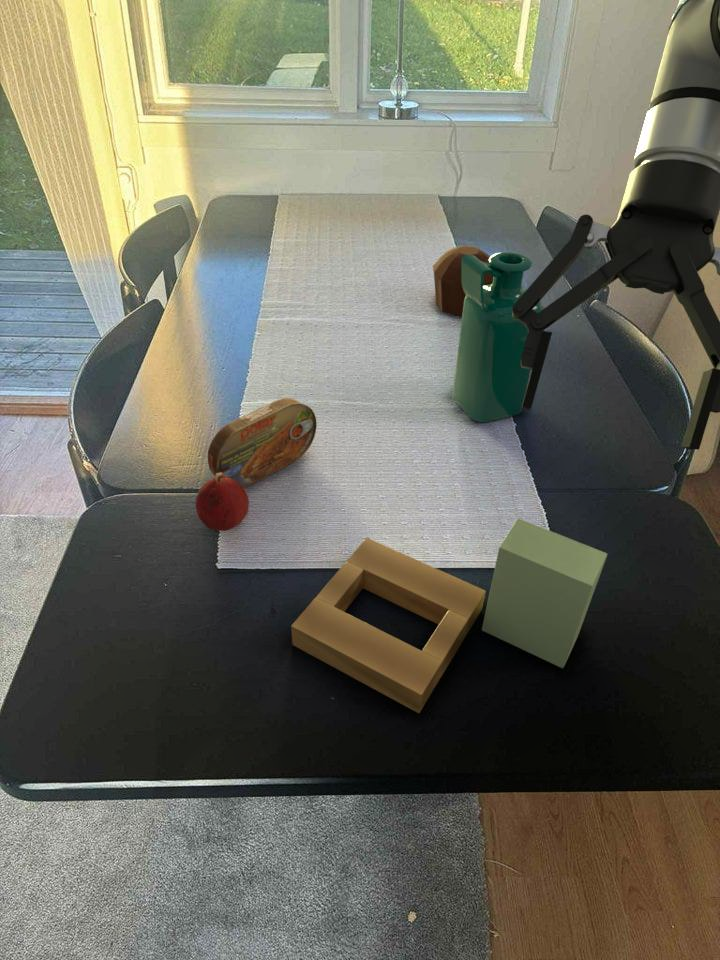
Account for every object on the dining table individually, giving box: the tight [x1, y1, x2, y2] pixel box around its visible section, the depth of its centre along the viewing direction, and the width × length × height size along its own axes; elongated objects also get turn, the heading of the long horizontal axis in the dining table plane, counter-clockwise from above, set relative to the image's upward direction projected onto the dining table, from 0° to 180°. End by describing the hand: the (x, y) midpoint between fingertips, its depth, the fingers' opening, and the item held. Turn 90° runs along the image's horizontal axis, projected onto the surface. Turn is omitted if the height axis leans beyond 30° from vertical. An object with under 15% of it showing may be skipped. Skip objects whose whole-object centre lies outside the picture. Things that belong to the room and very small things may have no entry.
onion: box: [195, 472, 250, 532], centre depth 78 cm, size 6×6×8 cm
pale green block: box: [481, 518, 608, 669], centre depth 66 cm, size 4×8×12 cm, turn 59°
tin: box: [207, 397, 318, 489], centre depth 86 cm, size 15×3×8 cm, turn 132°
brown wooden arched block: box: [432, 244, 493, 318], centre depth 121 cm, size 12×11×10 cm
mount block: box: [290, 537, 486, 714], centre depth 69 cm, size 14×14×3 cm
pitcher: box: [451, 251, 544, 423], centre depth 93 cm, size 10×8×22 cm
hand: (606, 428), depth 59 cm, fingers open, 13 cm apart
